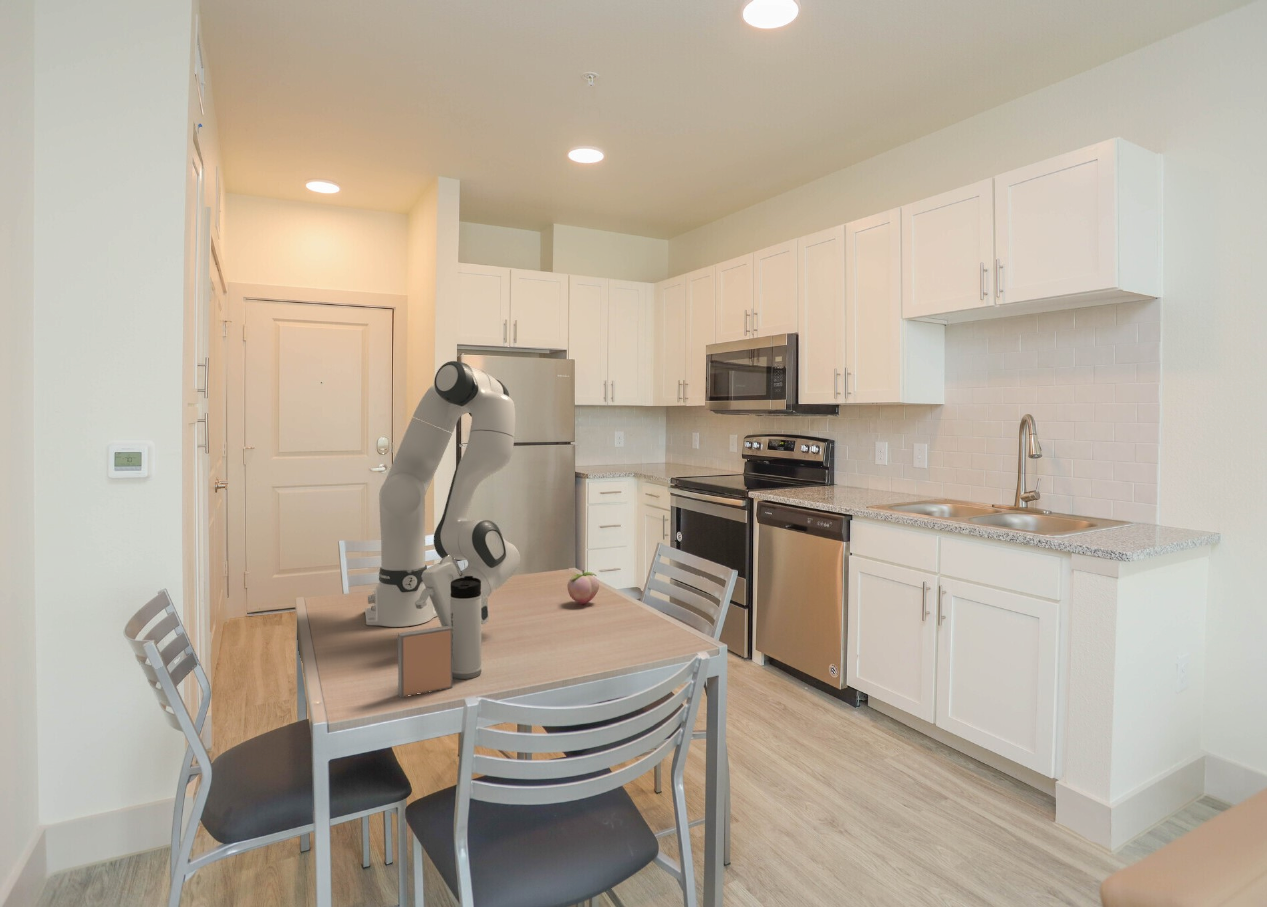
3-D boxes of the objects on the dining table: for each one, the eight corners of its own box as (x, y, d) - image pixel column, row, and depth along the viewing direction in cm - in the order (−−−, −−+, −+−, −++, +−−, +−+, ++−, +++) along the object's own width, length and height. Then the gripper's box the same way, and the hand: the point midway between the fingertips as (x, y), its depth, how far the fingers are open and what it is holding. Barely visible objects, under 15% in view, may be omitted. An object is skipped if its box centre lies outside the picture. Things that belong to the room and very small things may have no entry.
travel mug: (483, 668, 154) (483, 575, 153) (478, 679, 147) (478, 582, 146) (454, 668, 154) (454, 575, 153) (447, 679, 147) (447, 582, 146)
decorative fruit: (582, 598, 214) (583, 565, 213) (603, 603, 209) (603, 569, 208) (560, 605, 207) (560, 570, 206) (581, 610, 201) (581, 574, 201)
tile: (398, 694, 139) (398, 633, 138) (449, 684, 144) (448, 625, 144) (401, 698, 137) (401, 636, 137) (452, 688, 143) (452, 628, 142)
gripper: (461, 552, 165) (417, 585, 155) (491, 626, 172) (449, 662, 161) (443, 550, 169) (398, 583, 159) (473, 623, 175) (431, 659, 165)
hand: (424, 624), depth 160 cm, fingers open, 8 cm apart
